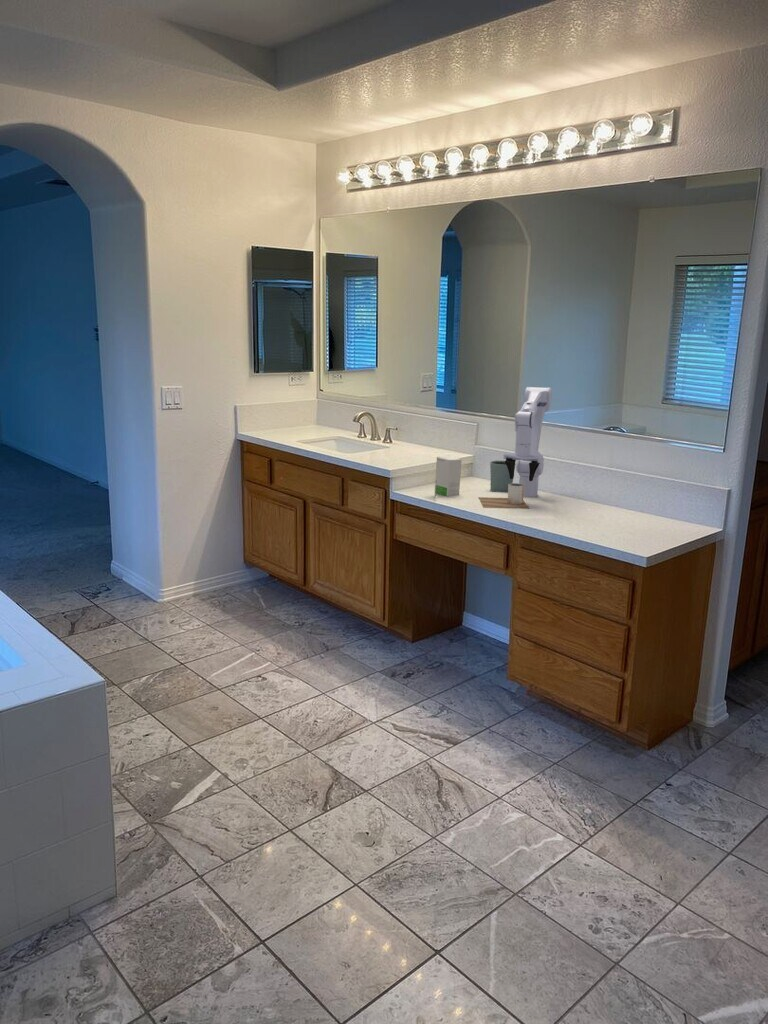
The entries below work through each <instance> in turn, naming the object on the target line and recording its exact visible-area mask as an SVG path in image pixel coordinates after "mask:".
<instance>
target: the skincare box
mask: <svg viewBox="0 0 768 1024" xmlns="http://www.w3.org/2000/svg"><path fill="white" fill-rule="evenodd" d="M462 461H463V459H462V458H458V457H456V456H453V455H452V456H451V455H441V456H436V461H435V462H436V463H435V464H436V465H435V466H436V467H435V479H434V480H435V481H434V496H437V495H440V496H445V497H454V496H459V495H460V487H461V485H460V484H461V473H462V472H461V471H462Z"/></svg>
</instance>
